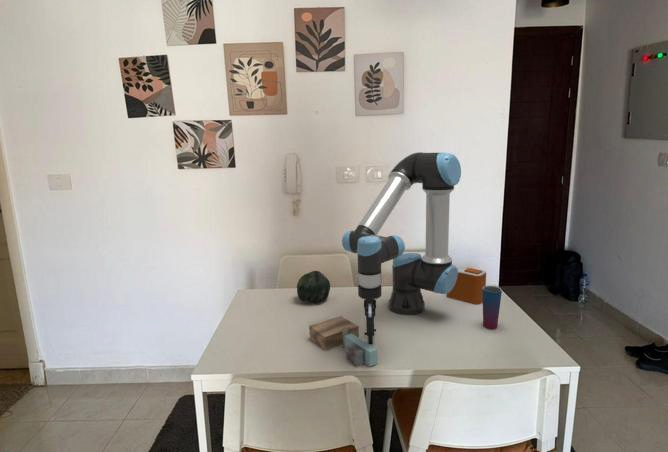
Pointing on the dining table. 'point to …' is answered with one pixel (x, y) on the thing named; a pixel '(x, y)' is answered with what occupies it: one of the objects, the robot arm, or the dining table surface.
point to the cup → (491, 306)
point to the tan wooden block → (337, 337)
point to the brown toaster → (469, 286)
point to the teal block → (368, 350)
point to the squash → (313, 287)
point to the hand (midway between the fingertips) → (370, 351)
